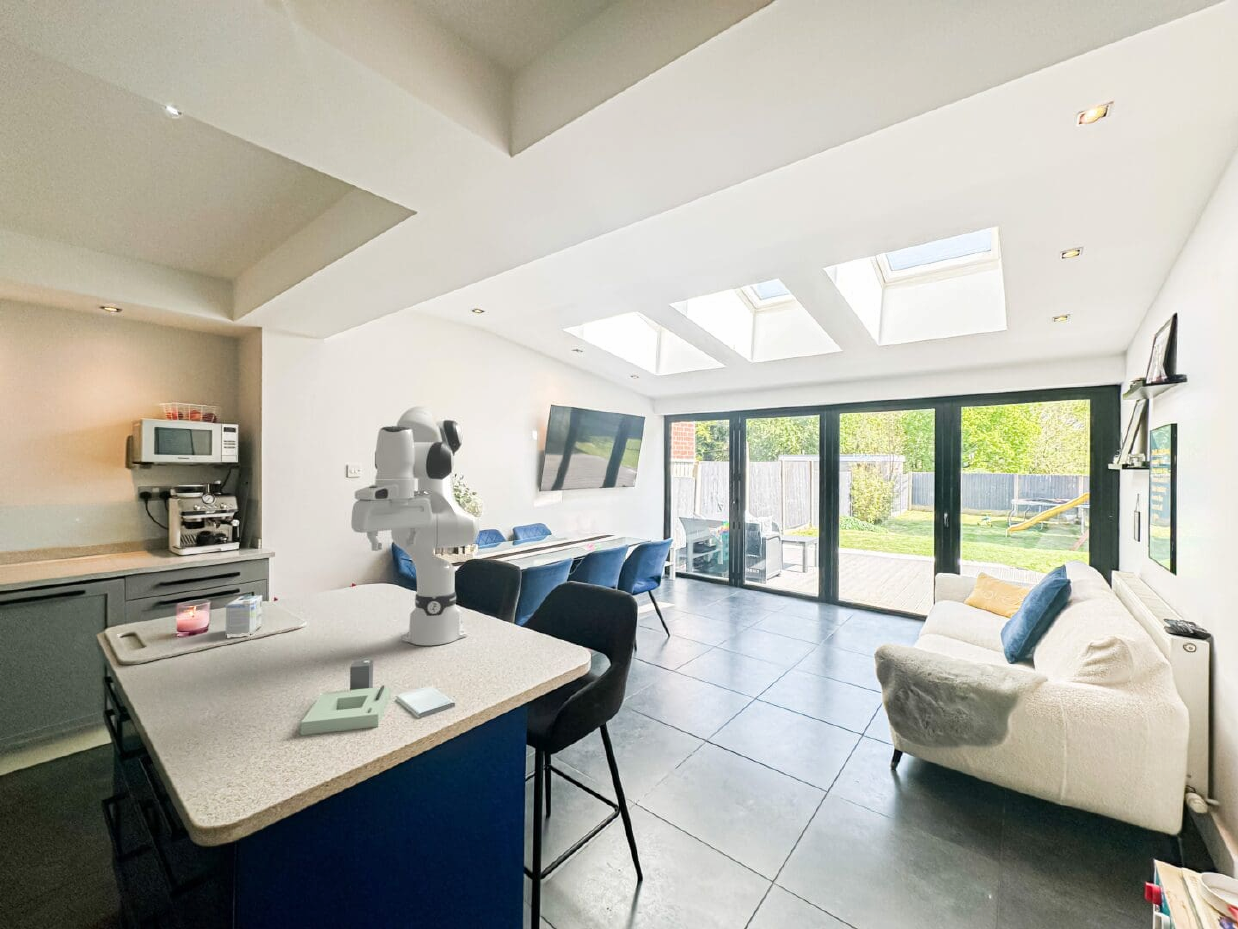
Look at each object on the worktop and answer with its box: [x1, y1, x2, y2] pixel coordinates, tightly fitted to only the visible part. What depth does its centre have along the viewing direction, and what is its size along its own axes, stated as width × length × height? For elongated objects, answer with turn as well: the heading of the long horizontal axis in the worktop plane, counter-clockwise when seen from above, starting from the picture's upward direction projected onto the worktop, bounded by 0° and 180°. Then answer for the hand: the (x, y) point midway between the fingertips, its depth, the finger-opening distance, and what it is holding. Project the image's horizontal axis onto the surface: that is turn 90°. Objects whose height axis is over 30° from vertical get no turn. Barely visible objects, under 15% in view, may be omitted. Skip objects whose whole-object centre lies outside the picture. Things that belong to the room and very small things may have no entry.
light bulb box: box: [225, 595, 263, 636], centre depth 164 cm, size 11×7×11 cm, turn 17°
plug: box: [349, 659, 374, 690], centre depth 119 cm, size 4×4×7 cm
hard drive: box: [395, 685, 456, 719], centre depth 114 cm, size 2×8×12 cm
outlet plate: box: [300, 685, 392, 736], centre depth 109 cm, size 14×14×3 cm
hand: (394, 548), depth 124 cm, fingers open, 8 cm apart
